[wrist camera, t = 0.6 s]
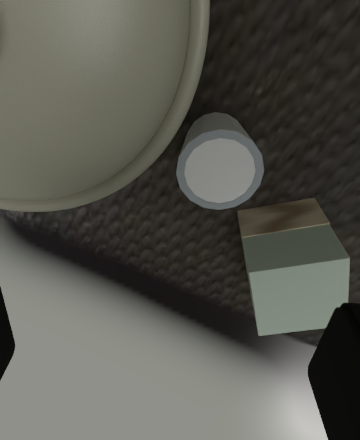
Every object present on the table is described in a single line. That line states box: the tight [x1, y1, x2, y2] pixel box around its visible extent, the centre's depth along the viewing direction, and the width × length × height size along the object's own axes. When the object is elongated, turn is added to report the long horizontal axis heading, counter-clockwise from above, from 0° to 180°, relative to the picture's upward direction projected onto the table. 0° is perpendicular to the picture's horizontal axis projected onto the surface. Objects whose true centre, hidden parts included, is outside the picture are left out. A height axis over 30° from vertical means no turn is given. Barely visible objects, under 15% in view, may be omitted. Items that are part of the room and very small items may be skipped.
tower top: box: [242, 224, 350, 336], centre depth 32 cm, size 8×8×5 cm
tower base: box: [237, 198, 330, 275], centre depth 36 cm, size 8×8×5 cm
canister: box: [0, 0, 210, 212], centre depth 18 cm, size 18×18×21 cm
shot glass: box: [176, 112, 264, 210], centre depth 30 cm, size 7×7×7 cm
